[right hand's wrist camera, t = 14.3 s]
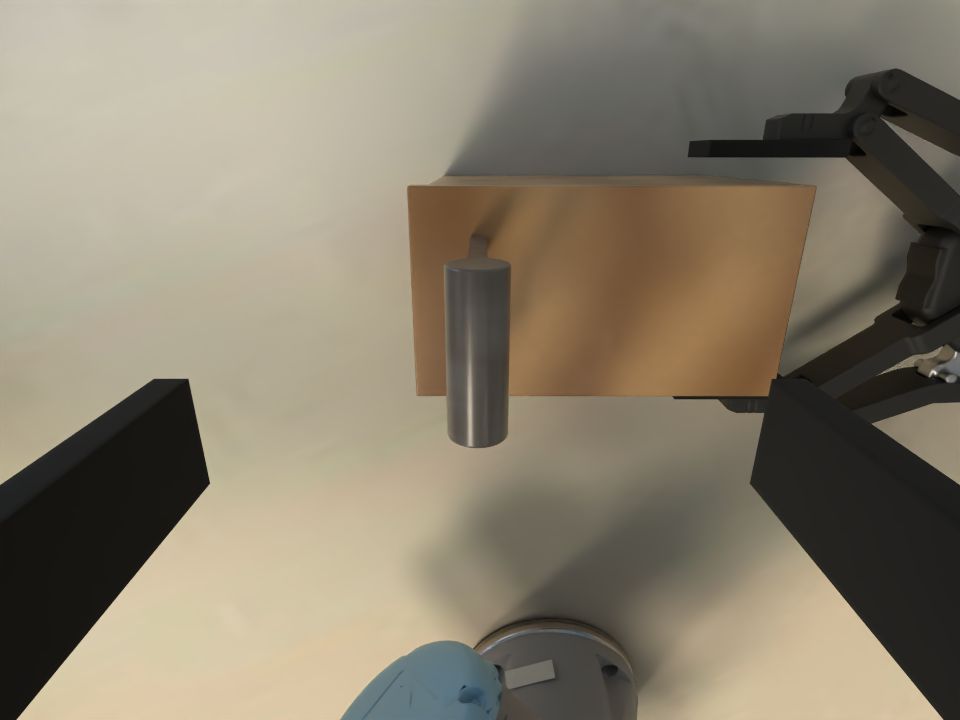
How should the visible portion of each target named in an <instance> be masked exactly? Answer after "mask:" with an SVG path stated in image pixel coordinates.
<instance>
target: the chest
mask: <svg viewBox="0 0 960 720" xmlns="http://www.w3.org/2000/svg"><path fill="white" fill-rule="evenodd" d="M429 185H801V184H791V183H780V182H770V181H759V180H749V179H738V178H728V177H717V176H707V175H444V176H443V177H441V178H439V179H438V180H436V181H434V182H433V183H431V184H429Z"/></svg>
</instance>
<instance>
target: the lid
mask: <svg viewBox="0 0 960 720" xmlns="http://www.w3.org/2000/svg"><path fill="white" fill-rule="evenodd" d="M815 193H816V186H812V185H410V186H408V187H407V196H408V218H409V240H410V262H411V283H412V305H413V327H414V349H415V371H416V393H417V396H447V426H448V436H449V438H450V439H451V440H452V441H453V442H455V443H456V444H458V445H461V446H465V447H470V448H485V447H491V446H494V445H497V444H499V443H501V442H502V441H504V440H505V438H506V437H507V434H508V401H509V396H768V394H769V390H770V385H771V380H772V379H776V377H777V373H778V368H779V363H780V358H781V354H782V349H783V344H784V339H785V335H786V330H787V325H788V320H789V316H790V311H791V306H792V301H793V297H794V292H795V287H796V283H797V278H798V273H799V268H800V264H801V259H802V254H803V249H804V245H805V240H806V235H807V230H808V226H809V221H810V216H811V211H812V207H813V202H814V197H815Z"/></svg>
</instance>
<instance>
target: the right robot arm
mask: <svg viewBox="0 0 960 720" xmlns="http://www.w3.org/2000/svg"><path fill="white" fill-rule="evenodd" d="M209 484H210V481H209V476H208V471H207V467H206V462H205V457H204V452H203V447H202V443H201V438H200V433H199V428H198V423H197V419H196V414H195V409H194V404H193V399H192V394H191V390H190V385H189V380H188V379H153V380H152V381H150V382H149V383H147V384H146V385H145V386H143V387H142V388H140V389H139V390H137V391H136V392H134V393H133V394H132V395H130V396H129V397H127V398H126V399H124V400H123V401H121V402H120V403H118V404H117V405H116V406H114V407H113V408H111V409H110V410H108V411H107V412H105V413H104V414H103V415H101V416H100V417H98V418H97V419H95V420H94V421H92V422H91V423H90V424H88V425H87V426H85V427H84V428H82V429H81V430H79V431H78V432H76V433H75V434H74V435H72V436H71V437H69V438H68V439H66V440H65V441H63V442H62V443H61V444H59V445H58V446H56V447H55V448H53V449H52V450H50V451H49V452H48V453H46V454H45V455H43V456H42V457H40V458H39V459H37V460H36V461H34V462H33V463H32V464H30V465H29V466H27V467H26V468H24V469H23V470H21V471H20V472H19V473H17V474H16V475H14V476H13V477H11V478H10V479H8V480H7V481H6V482H4V483H3V484H1V485H0V720H17V718H18V717H19V716H20V715H21V713H22V712H23V711H24V710H25V709H26V707H27V706H28V705H29V704H30V703H31V701H32V700H33V699H34V698H35V696H36V695H37V694H38V693H39V692H40V690H41V689H42V688H43V687H44V685H45V684H46V683H47V682H48V681H49V679H50V678H51V677H52V676H53V674H54V673H55V672H56V671H57V670H58V668H59V667H60V666H61V665H62V663H63V662H64V661H65V660H66V659H67V657H68V656H69V655H70V654H71V652H72V651H73V650H74V649H75V648H76V646H77V645H78V644H79V643H80V641H81V640H82V639H83V638H84V637H85V635H86V634H87V633H88V632H89V631H90V629H91V628H92V627H93V626H94V624H95V623H96V622H97V621H98V620H99V618H100V617H101V616H102V615H103V613H104V612H105V611H106V610H107V609H108V607H109V606H110V605H111V604H112V602H113V601H114V600H115V599H116V598H117V596H118V595H119V594H120V593H121V591H122V590H123V589H124V588H125V587H126V585H127V584H128V583H129V582H130V580H131V579H132V578H133V577H134V576H135V574H136V573H137V572H138V571H139V569H140V568H141V567H142V566H143V565H144V563H145V562H146V561H147V560H148V559H149V557H150V556H151V555H152V554H153V552H154V551H155V550H156V549H157V548H158V546H159V545H160V544H161V543H162V541H163V540H164V539H165V538H166V537H167V535H168V534H169V533H170V532H171V530H172V529H173V528H174V527H175V526H176V524H177V523H178V522H179V521H180V519H181V518H182V517H183V516H184V515H185V513H186V512H187V511H188V510H189V508H190V507H191V506H192V505H193V504H194V502H195V501H196V500H197V499H198V497H199V496H200V495H201V494H202V493H203V491H204V490H205V489H206V488H207V487H208V485H209ZM750 484H751V485H752V487H753V488H754V489H755V490H756V491H757V493H758V494H759V495H760V496H761V497H762V499H763V500H764V501H765V502H766V504H767V505H768V506H769V507H770V508H771V510H772V511H773V512H774V513H775V515H776V516H777V517H778V518H779V519H780V521H781V522H782V523H783V524H784V526H785V527H786V528H787V529H788V530H789V532H790V533H791V534H792V535H793V537H794V538H795V539H796V540H797V541H798V543H799V544H800V545H801V546H802V548H803V549H804V550H805V551H806V552H807V554H808V555H809V556H810V557H811V559H812V560H813V561H814V562H815V563H816V565H817V566H818V567H819V568H820V569H821V571H822V572H823V573H824V574H825V576H826V577H827V578H828V579H829V580H830V582H831V583H832V584H833V585H834V587H835V588H836V589H837V590H838V591H839V593H840V594H841V595H842V596H843V598H844V599H845V600H846V601H847V602H848V604H849V605H850V606H851V607H852V609H853V610H854V611H855V612H856V613H857V615H858V616H859V617H860V618H861V620H862V621H863V622H864V623H865V624H866V626H867V627H868V628H869V629H870V631H871V632H872V633H873V634H874V635H875V637H876V638H877V639H878V640H879V641H880V643H881V644H882V645H883V646H884V648H885V649H886V650H887V651H888V652H889V654H890V655H891V656H892V657H893V659H894V660H895V661H896V662H897V663H898V665H899V666H900V667H901V668H902V670H903V671H904V672H905V673H906V674H907V676H908V677H909V678H910V679H911V681H912V682H913V683H914V684H915V685H916V687H917V688H918V689H919V690H920V692H921V693H922V694H923V695H924V696H925V698H926V699H927V700H928V701H929V703H930V704H931V705H932V706H933V707H934V709H935V710H936V711H937V712H938V714H939V715H940V716H941V717H942V718H943V720H960V485H959V484H957V483H956V482H954V481H953V480H952V479H950V478H949V477H947V476H946V475H944V474H943V473H941V472H940V471H939V470H937V469H936V468H934V467H933V466H931V465H930V464H928V463H927V462H926V461H924V460H923V459H921V458H920V457H918V456H917V455H915V454H914V453H912V452H911V451H910V450H908V449H907V448H905V447H904V446H902V445H901V444H899V443H898V442H897V441H895V440H894V439H892V438H891V437H889V436H888V435H886V434H885V433H884V432H882V431H881V430H879V429H878V428H876V427H875V426H873V425H872V424H870V423H869V422H868V421H866V420H865V419H863V418H862V417H860V416H859V415H857V414H856V413H855V412H853V411H852V410H850V409H849V408H847V407H846V406H844V405H843V404H842V403H840V402H839V401H837V400H836V399H834V398H833V397H831V396H830V395H828V394H827V393H826V392H824V391H823V390H821V389H820V388H818V387H817V386H815V385H814V384H813V383H811V382H810V381H808V380H807V379H772V380H771V385H770V390H769V394H768V399H767V404H766V409H765V414H764V419H763V423H762V428H761V433H760V438H759V443H758V447H757V452H756V457H755V462H754V467H753V471H752V476H751V481H750Z"/></svg>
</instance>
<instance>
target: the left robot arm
mask: <svg viewBox="0 0 960 720" xmlns="http://www.w3.org/2000/svg"><path fill="white" fill-rule="evenodd" d="M845 96H846V98H845V100H844V102H843V104H842V105H841V107H840V108H839V109H838V110H837V111H836V112H834V113H833V114H785V115H778V116H775V117H772V118H770V119H768V120H766V125H765V130H764V136H763V140H704V141H690V144H689V152H688V157H845V158H846V159H847V160H848V161H849V162H850V163H852V164H853V165H854V166H855V167H856V168H857V169H858V170H859V171H860V172H861V173H862V174H863V175H864V176H865V177H866V178H868V179H869V180H870V181H871V182H872V183H873V184H874V185H875V186H876V187H877V188H878V189H879V190H880V191H881V192H882V193H884V194H885V195H886V196H887V197H888V198H889V199H890V200H891V201H892V202H893V203H894V204H895V205H896V206H897V207H898V208H900V209H901V210H902V211H903V212H904V215H903V217H904V218H905V220H907V221H908V222H909V223H910V224H911V225H912V226H913V227H914V228H915V229H916V230H917V231H918V232H919V233H920V234H922V236H921V237H920V238H919V240H918V241H917V243H911V245H910V248H909V252H908V256H907V272H906V274H905V276H904V278H903V279H902V281H901V283H900V285H899V288H898V291H897V295H896V298H895V299H897V300H900V303H899V304H897V305H896V306H894V307H892V308H891V309H889V310H887V311H885V312H884V313H882V314H880V315H879V316H877V317H876V318H875V323H874V324H873V325H872V326H870V327H868V328H867V329H865V330H863V331H861V332H860V333H858V334H856V335H855V336H853V337H851V338H850V339H848V340H846V341H844V342H843V343H841V344H839V345H838V346H836V347H834V348H832V349H831V350H829V351H827V352H826V353H824V354H822V355H820V356H819V357H817V358H815V359H814V360H812V361H810V362H808V363H807V364H805V365H803V366H802V367H800V368H798V369H796V370H795V371H793V372H791V373H790V374H788V375H786V376H784V377H782V376H781V375H779V374H778V373H777V377H776V379H807V380H808V381H810V382H811V383H813V384H814V385H815V386H817V387H818V388H820V389H821V390H823V391H824V392H826V393H827V394H828V395H830V396H831V397H833V398H834V399H836V400H837V401H839V402H840V403H842V404H843V405H844V406H846V407H847V408H849V409H850V410H852V411H853V412H855V413H856V414H857V415H859V416H860V417H862V418H863V419H865V420H866V421H868V422H869V423H870V424H871V423H874V422H877V421H880V420H883V419H886V418H889V417H892V416H895V415H899V414H902V413H905V412H908V411H911V410H914V409H917V408H920V407H923V406H926V405H929V404H932V403H951V402H960V196H959V195H958V194H957V193H956V192H955V191H954V190H953V189H952V188H951V187H950V186H949V185H948V184H947V183H946V182H945V181H944V180H943V179H942V178H941V177H940V176H939V175H938V174H937V173H936V172H935V171H934V170H933V169H932V168H931V167H930V166H929V165H928V164H927V163H926V162H925V161H924V160H923V159H922V158H921V157H920V156H919V155H918V154H917V153H916V152H915V151H913V150H912V149H911V148H910V147H909V146H908V145H907V144H906V143H905V142H904V141H903V140H902V139H901V138H900V137H899V136H898V135H897V134H896V133H895V132H894V131H893V130H892V129H891V128H890V127H889V126H888V125H887V124H886V123H885V122H884V121H883V120H882V119H881V118H883V119H885V120H887V121H889V122H891V123H893V124H895V125H897V126H899V127H901V128H903V129H905V130H907V131H909V132H911V133H913V134H915V135H917V136H919V137H921V138H923V139H925V140H927V141H929V142H931V143H933V144H935V145H937V146H939V147H941V148H943V149H945V150H947V151H949V152H951V153H953V154H955V155H957V156H960V100H958V99H956V98H954V97H953V96H951V95H949V94H947V93H945V92H943V91H941V90H939V89H937V88H935V87H933V86H931V85H929V84H927V83H925V82H924V81H922V80H920V79H918V78H916V77H914V76H912V75H910V74H908V73H906V72H904V71H902V70H900V69H892V70H886V71H881V72H876V73H871V74H867V75H862V76H858V77H855V78H853V79H852V80H850V82H849V83H848V84H847V86H846V89H845ZM880 117H881V118H880ZM913 322H914V323H916V324H917V325H918V326H915V325H913V324H911V323H913ZM941 346H943V348H942V351H941V352H940V353H939V354H938V355H937V356H935V357H933V358H930V359H927V360H923V359H919V360H917V361H916V362H915V363H914V367H906V368H901V369H897V370H893V371H890V372H887V373H884V374H881V375H878V374H880V373H882V372H883V371H885V370H887V369H889V368H891V367H892V366H894V365H896V364H898V363H899V362H901V361H903V360H905V359H907V358H908V357H910V356H912V355H916V354H927V353H930V352H932V351H934V350H936V349H937V348H939V347H941ZM876 375H878V376H876ZM672 397H673V398H674V399H718V400H719V401H720V402H721V403H722V404H723V405H724V406H725V407H726V408H727V409H728V410H730V411H733V412H736V413H746V412H747V413H753V412H754V413H765V409H766V404H767V399H768V396H672ZM637 704H638V698H637V689H636V682H635V678H634V675H633V671H632V668H631V665H630V662H629V659H628V657H627V655H626V654H625V652H624V651H623V649H622V648H621V647H620V646H619V645H618V643H617V642H615V641H614V640H613V639H612V638H611V637H609V636H608V635H607V634H605V633H604V632H602V631H600V630H598V629H596V628H594V627H592V626H589V625H586V624H583V623H580V622H576V621H571V620H564V619H536V620H529V621H524V622H520V623H516V624H513V625H511V626H508V627H505V628H503V629H501V630H499V631H497V632H495V633H493V634H492V635H490V636H489V637H487V638H486V639H485V640H483V641H482V642H481V643H480V644H479V645H478V646H477V647H476V648H475V649H474V650H473V649H472V648H471V647H469V646H467V645H465V644H463V643H460V642H456V641H437V642H433V643H429V644H426V645H423V646H421V647H419V648H416V649H415V650H414V651H412V652H411V653H409V654H408V655H406V656H402V657H400V658H399V659H397V660H396V661H394V662H393V663H392V664H391V665H389V666H388V667H387V668H386V669H384V670H383V671H382V672H381V673H380V674H379V675H378V676H377V677H376V678H374V679H373V680H372V681H371V682H370V684H369V685H368V686H367V687H366V688H365V689H364V690H363V691H362V692H361V693H360V694H359V696H358V697H357V698H356V699H355V700H354V702H353V703H352V704H351V706H350V707H349V708H348V710H347V711H346V712H345V714H344V715H343V716H342V718H341V719H340V720H637Z"/></svg>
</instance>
